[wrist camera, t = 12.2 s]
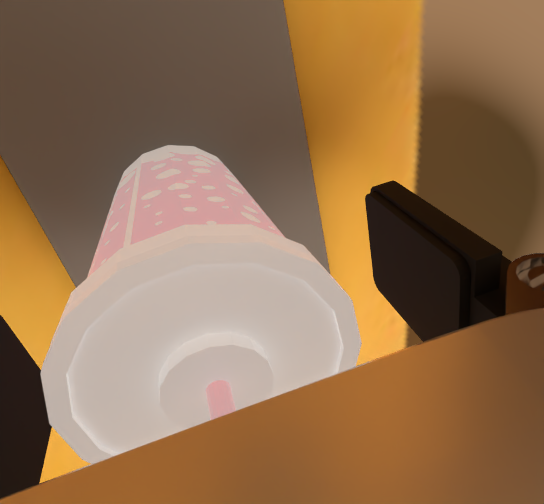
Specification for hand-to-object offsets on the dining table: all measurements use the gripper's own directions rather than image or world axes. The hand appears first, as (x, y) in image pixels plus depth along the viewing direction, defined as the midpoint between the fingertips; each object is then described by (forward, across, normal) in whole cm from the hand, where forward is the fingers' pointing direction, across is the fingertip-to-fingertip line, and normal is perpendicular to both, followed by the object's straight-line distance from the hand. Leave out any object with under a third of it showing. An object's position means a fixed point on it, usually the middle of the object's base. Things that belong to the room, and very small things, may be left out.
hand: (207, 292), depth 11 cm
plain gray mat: (+7, 0, 0) cm, 7 cm away
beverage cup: (+6, 0, 0) cm, 6 cm away
